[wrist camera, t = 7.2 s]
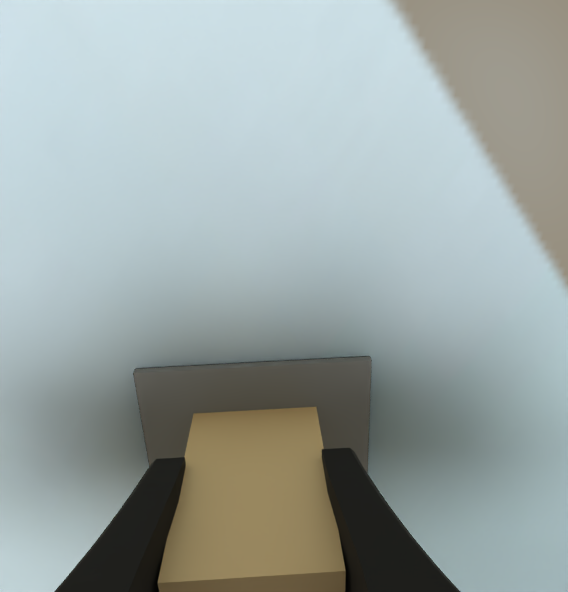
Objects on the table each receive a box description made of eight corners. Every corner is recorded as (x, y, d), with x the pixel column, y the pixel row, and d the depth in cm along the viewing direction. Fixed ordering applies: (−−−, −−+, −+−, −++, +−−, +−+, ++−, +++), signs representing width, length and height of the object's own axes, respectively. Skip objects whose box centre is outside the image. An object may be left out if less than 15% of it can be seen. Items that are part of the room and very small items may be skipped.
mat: (370, 356, 12) (371, 360, 12) (360, 628, 16) (361, 635, 15) (135, 368, 12) (133, 373, 11) (182, 641, 15) (181, 647, 15)
